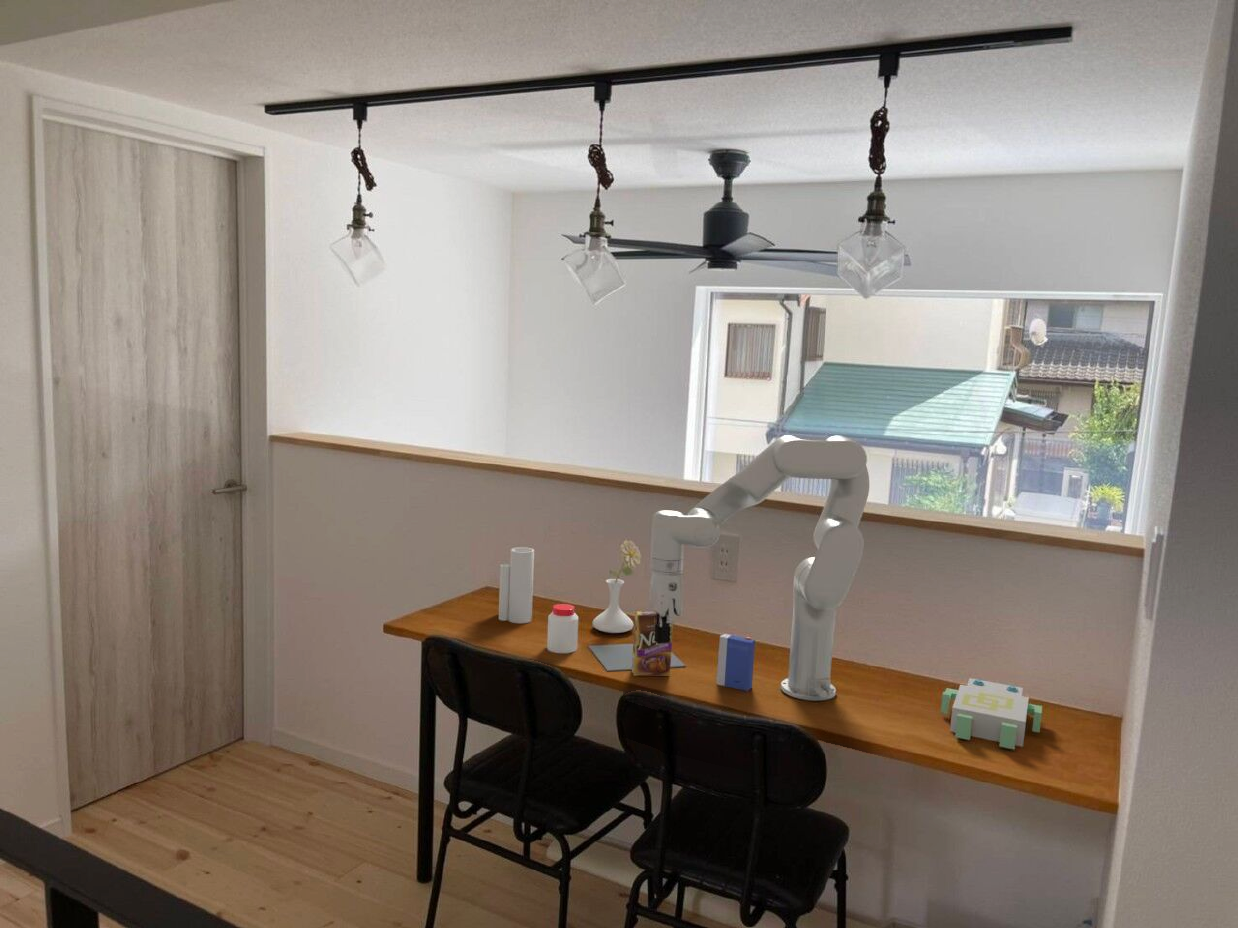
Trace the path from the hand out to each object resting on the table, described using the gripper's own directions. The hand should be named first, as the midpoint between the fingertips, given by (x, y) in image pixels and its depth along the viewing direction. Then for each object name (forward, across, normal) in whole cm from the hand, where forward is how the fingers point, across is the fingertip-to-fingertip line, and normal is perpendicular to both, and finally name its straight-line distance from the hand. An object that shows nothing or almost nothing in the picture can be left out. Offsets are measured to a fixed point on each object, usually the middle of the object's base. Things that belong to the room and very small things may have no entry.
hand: (662, 641), depth 218 cm
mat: (+10, +19, 0) cm, 21 cm away
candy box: (+10, +7, 0) cm, 12 cm away
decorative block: (+11, -36, -64) cm, 74 cm away
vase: (+10, +55, +24) cm, 61 cm away
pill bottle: (+10, +28, +17) cm, 34 cm away
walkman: (+10, -4, -17) cm, 20 cm away
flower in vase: (+10, +41, -1) cm, 42 cm away
